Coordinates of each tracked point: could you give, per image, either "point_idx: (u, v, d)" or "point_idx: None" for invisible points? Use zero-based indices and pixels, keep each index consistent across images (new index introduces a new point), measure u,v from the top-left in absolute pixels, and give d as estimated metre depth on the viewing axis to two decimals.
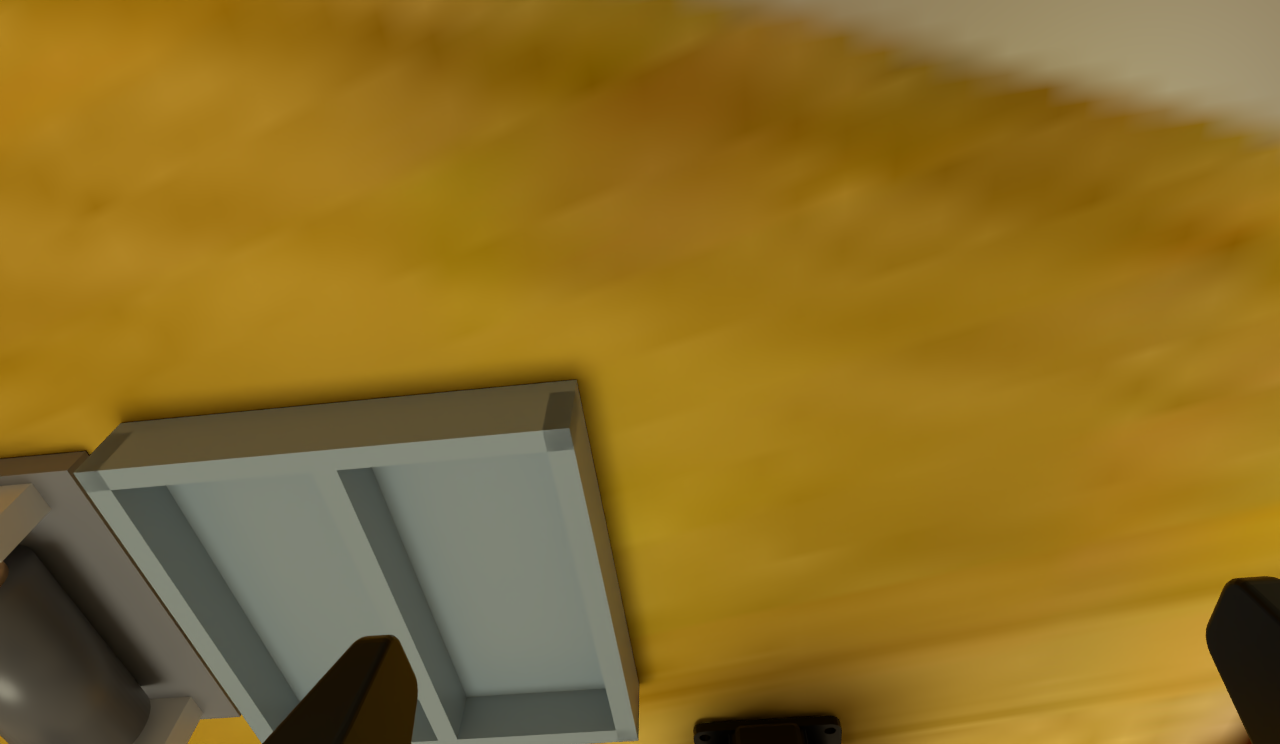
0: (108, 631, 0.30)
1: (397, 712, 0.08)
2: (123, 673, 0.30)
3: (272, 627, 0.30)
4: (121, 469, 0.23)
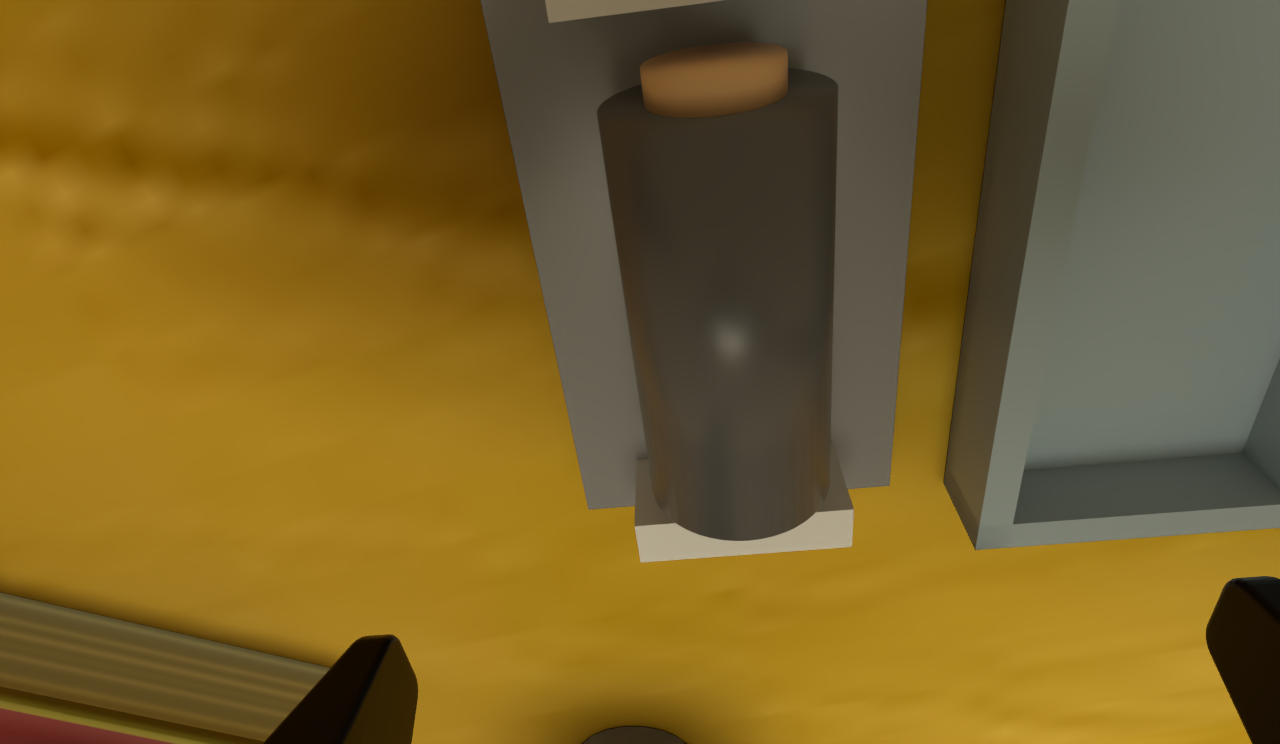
0: None
1: (397, 712, 0.08)
2: None
3: None
4: None
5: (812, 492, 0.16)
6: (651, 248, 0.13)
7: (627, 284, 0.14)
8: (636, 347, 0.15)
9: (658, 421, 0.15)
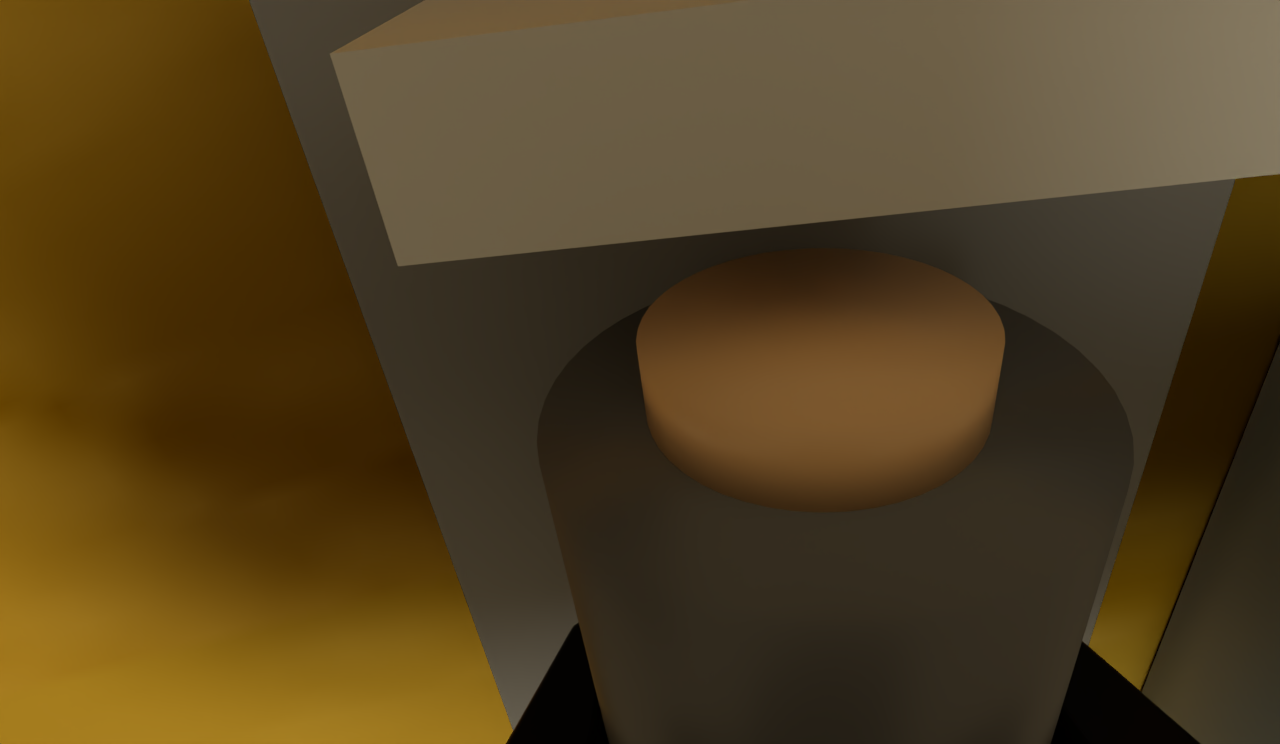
0: None
1: None
2: None
3: None
4: None
5: None
6: None
7: (611, 743, 0.07)
8: None
9: None
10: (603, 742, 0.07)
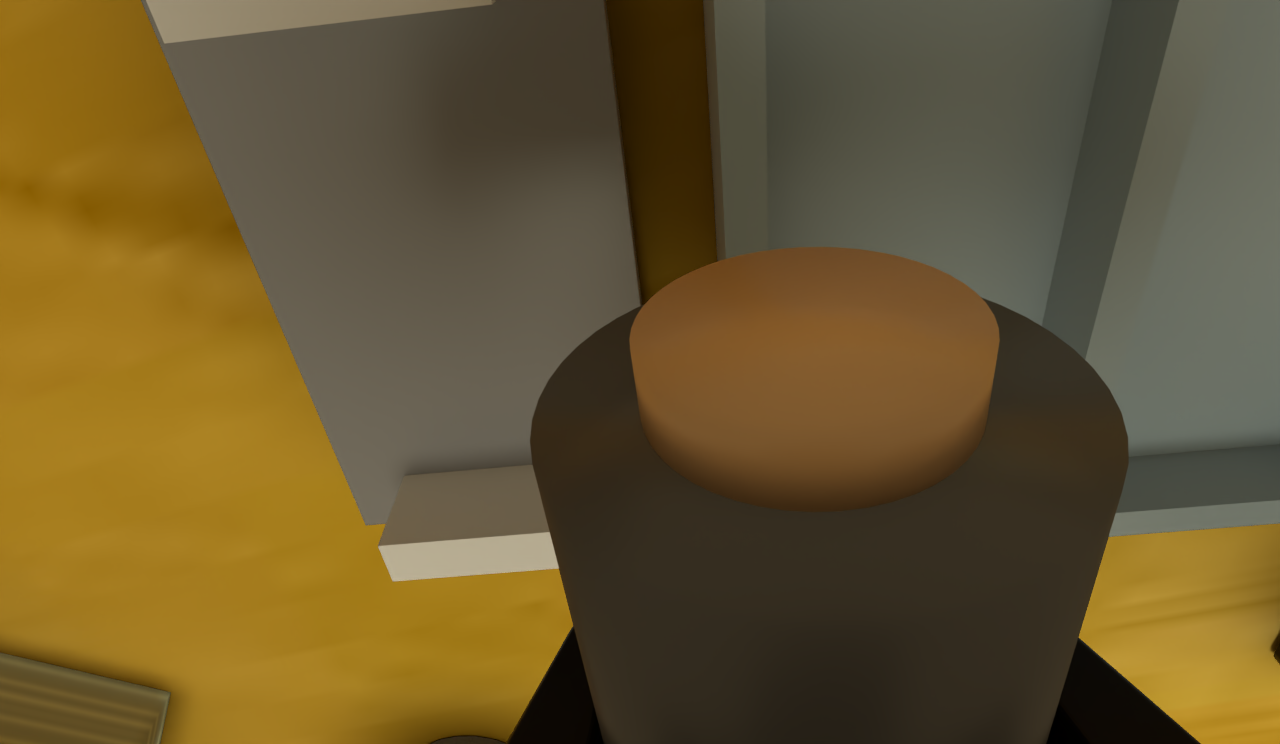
0: (511, 311, 0.17)
1: None
2: None
3: None
4: None
5: None
6: None
7: None
8: None
9: None
10: None
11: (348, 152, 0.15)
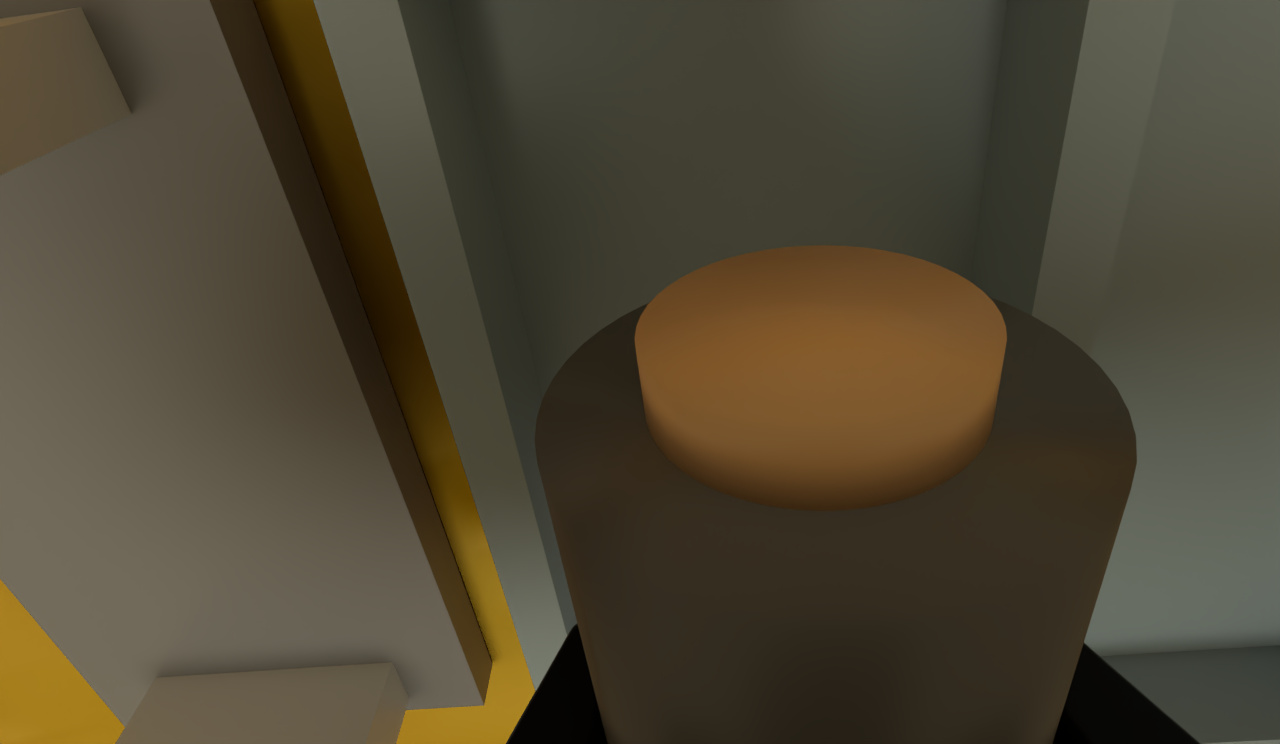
0: (239, 505, 0.13)
1: None
2: None
3: None
4: None
5: None
6: None
7: None
8: None
9: None
10: (603, 742, 0.07)
11: None
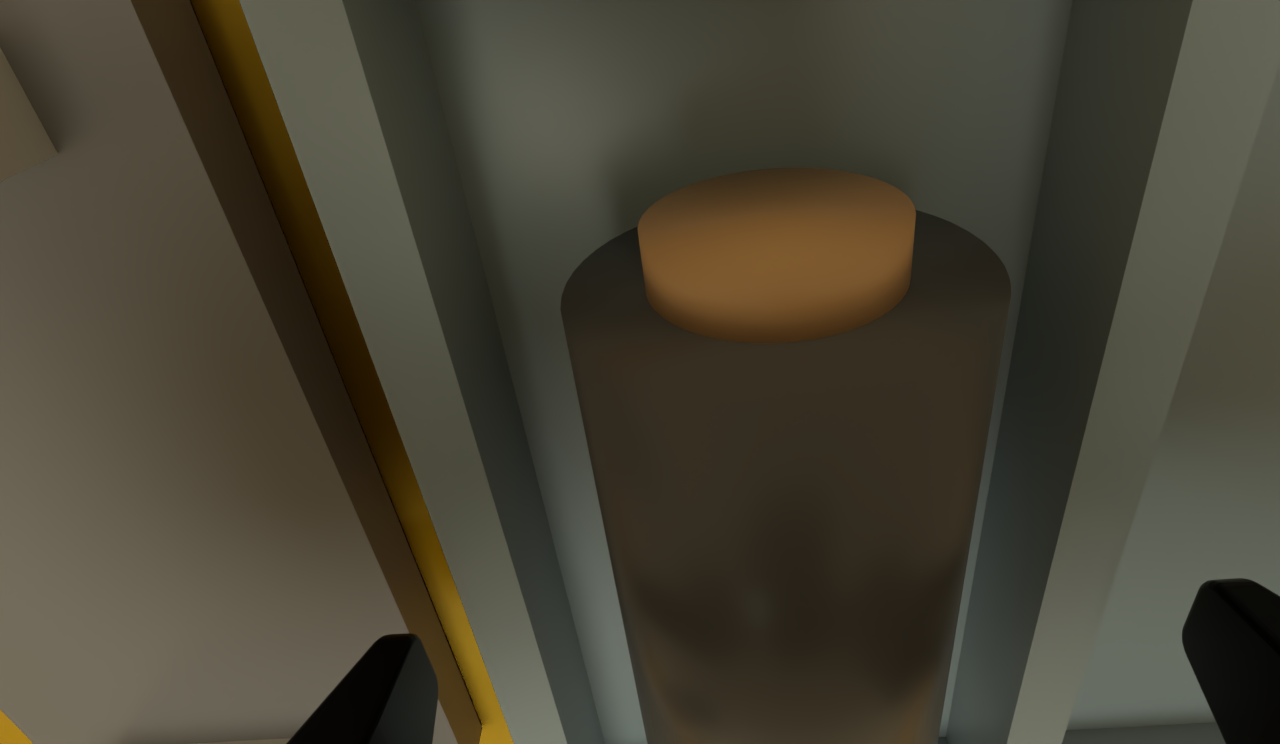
0: (199, 573, 0.12)
1: (419, 711, 0.08)
2: None
3: (607, 566, 0.12)
4: None
5: None
6: (658, 554, 0.07)
7: (616, 571, 0.08)
8: (632, 650, 0.09)
9: None
10: None
11: None
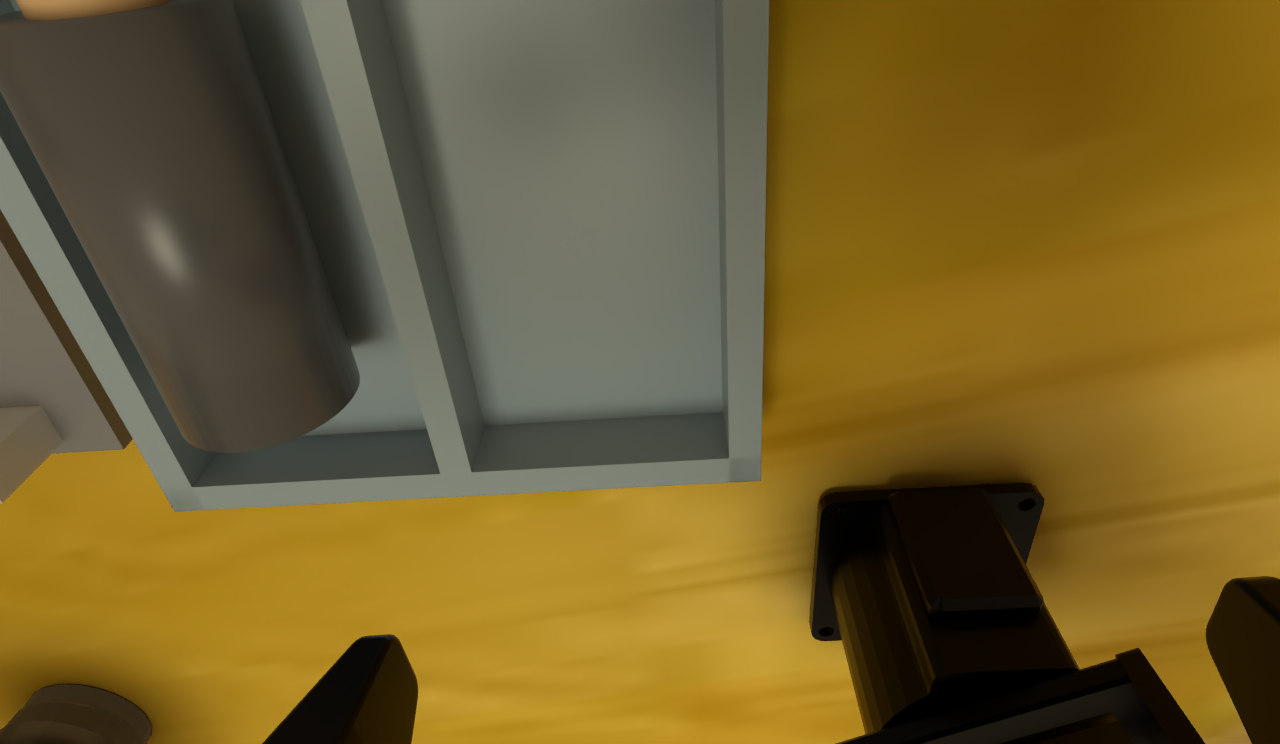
0: None
1: (397, 712, 0.08)
2: (331, 291, 0.17)
3: None
4: None
5: (294, 411, 0.16)
6: (32, 149, 0.13)
7: None
8: None
9: None
10: None
11: None
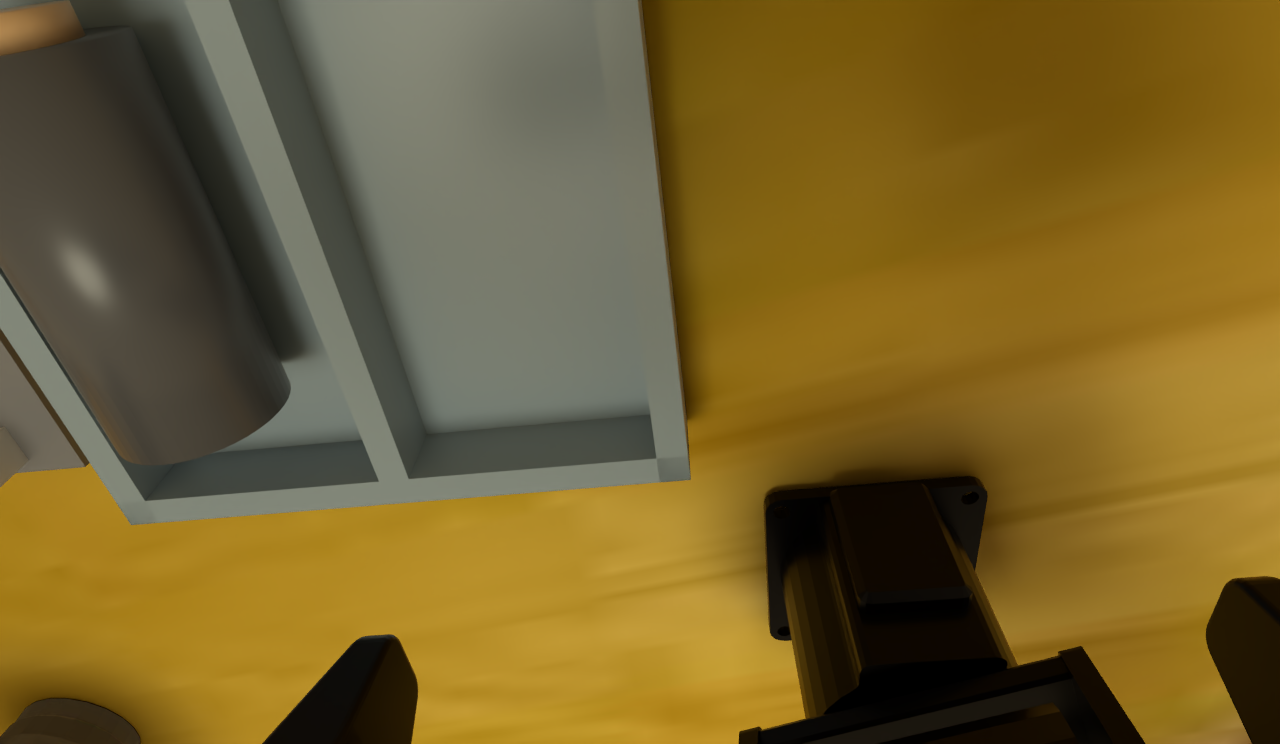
0: None
1: (397, 712, 0.08)
2: (256, 310, 0.18)
3: None
4: None
5: (211, 426, 0.17)
6: None
7: None
8: None
9: None
10: None
11: None
